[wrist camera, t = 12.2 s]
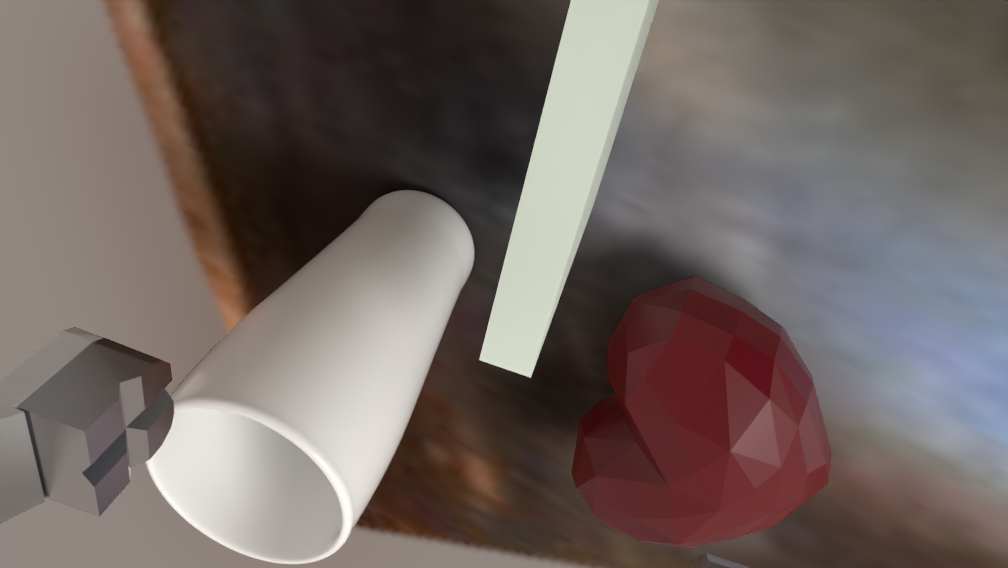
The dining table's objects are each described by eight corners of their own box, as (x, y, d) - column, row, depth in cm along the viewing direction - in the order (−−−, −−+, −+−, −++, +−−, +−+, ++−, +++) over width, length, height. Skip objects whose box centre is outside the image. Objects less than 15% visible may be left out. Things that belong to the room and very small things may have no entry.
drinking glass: (509, 298, 35) (382, 576, 23) (376, 305, 37) (196, 561, 25) (473, 160, 31) (303, 398, 19) (330, 177, 34) (97, 399, 21)
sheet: (646, -125, 24) (589, -72, 16) (694, -111, 24) (665, -51, 15) (554, 196, 31) (479, 360, 22) (592, 208, 31) (530, 377, 22)
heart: (901, 313, 29) (657, 222, 31) (905, 448, 23) (603, 325, 25) (778, 504, 37) (586, 420, 39) (757, 644, 31) (531, 536, 33)
